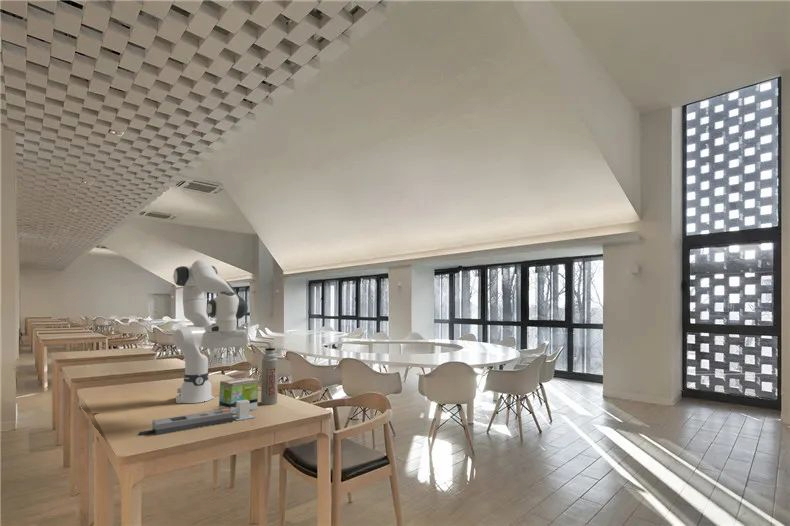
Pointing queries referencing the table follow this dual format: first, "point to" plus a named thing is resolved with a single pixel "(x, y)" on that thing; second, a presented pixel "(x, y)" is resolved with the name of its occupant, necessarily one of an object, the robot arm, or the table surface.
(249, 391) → the tea box
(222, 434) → the table surface
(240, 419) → the felt pad
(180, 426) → the power strip
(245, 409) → the charger
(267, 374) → the thermos bottle
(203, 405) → the table surface
